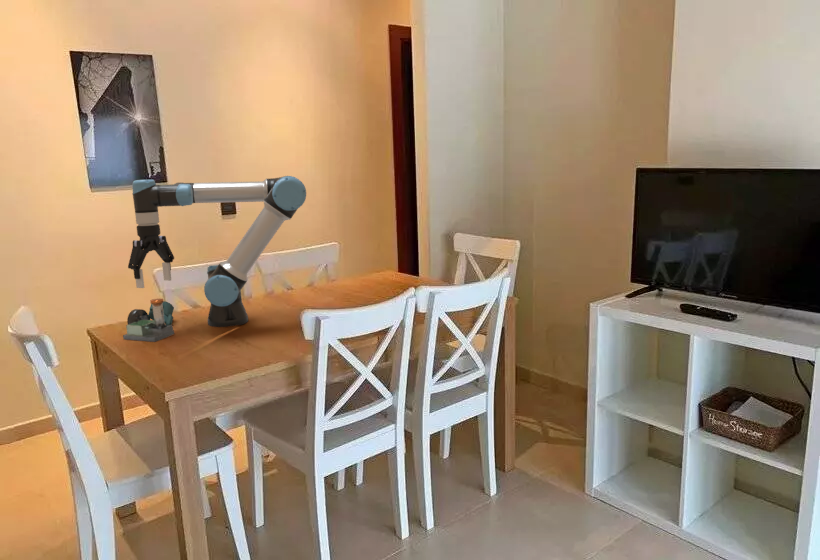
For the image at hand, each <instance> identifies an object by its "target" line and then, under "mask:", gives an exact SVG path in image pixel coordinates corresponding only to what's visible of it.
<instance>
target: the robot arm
mask: <svg viewBox="0 0 820 560" xmlns="http://www.w3.org/2000/svg"><path fill="white" fill-rule="evenodd" d="M131 184H132V185H131V186H132V198H133V205H134V214H135V215H134V216H135V223H136V234H137V236H138V237H139V240H137V239H135V240H133V241H132V249H131V252H130V255H129V261H128V266H127V268H128V269H129V270H130V269H131V270H133V276H134V277H133V278H134V279H135V284H136V287H135V288H136V289H144V288H145V281H144V272H143V269H141V267H142V266H143V264H144V262H145V260H146V259H145V258H146V257H147V255H148V254H149V253H150V252H152V251H155V253H156V254H157V255H158V257H160V258H161V260H162V261H163V262H162V263H161V264H162V273H163V275H162V276H163V281H170V282H171V281H172V273H171V270H172V265H171V263H173V262H174V260H175V256H174V253H173V251H172V250H171V248H170V246H169V244H168V242H167V237H166V235H161V228H160V227H161V225H160V224H159V223H160V217H159V216H160V215H159V207H161V208H163V207H187V206H191V205H193V204H208V203H209V204H213V203H214V204H215V203H216V204H217V203H218V204H219V203H256V202H261V203H262V202H263V208H262V209H261V211H260V213H259V214H258V215H257V217H256V218H255V219H254V221H253V223H252V224H251V225H250V226H249V228H248V230H247V231H246V233H245V234H244V236H243V237H242V238H241V240H240V241H239V242H238V244H237V246H235V248H234V250H233V251H232V252H231V254H230V255H229V257H228V258H227V259H226V260H224V261H220V262H219V263H218V264H214V265H209V266H207V271H206V274H207V280H206V282H205V283H204V287H203V291H204V295H205V298H206V300H207V301H208V302H209V303H210V308H209V312H208V316H207V324H208V326H210V327H214V328H216V327H217V328H228V327H234V326H242V325H244V324H247V323H248V322H249V316H248V313H247V311H246V310H247V309H246V308H245V306H244V303H243V300H242V299H243V298H242V289H243V287H244V286H245V285H246V284H247V282H248V281H249V279H248V273H249V272H250V270H251V269H252V267H253V266H254V264H255V263H256V262H257V261H258V258H259V257H260V256H261V255H262V253H263V251H265V249H266V248H267V246H268V245H269V243H270V242H271V240H272V239H273V238H274V236H275V235H276V233H277V232H278V230H279V229H280V227H281V226H282V225H283V223H284V222H285V221H289V220H292V218H293V216H294V215H295V214H296V212H297V211H298V209H299V208H301V207H302V206H303V205H304V203H305V202H306V198H307V190H306V185H305V184H304V183H303V181H301V180H300V179H299V178H298V177H295V176H292V175H285V176H284V175H283V176H281V177H280V176H279V177H275V178H265V179H264V180H262V181H219V182H218V181H217V182H216V181H215V182H213V181H212V182H176V183H174V184H156V181H155V179H137V180H135V179H134V181H133V182H132V183H131Z"/></svg>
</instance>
